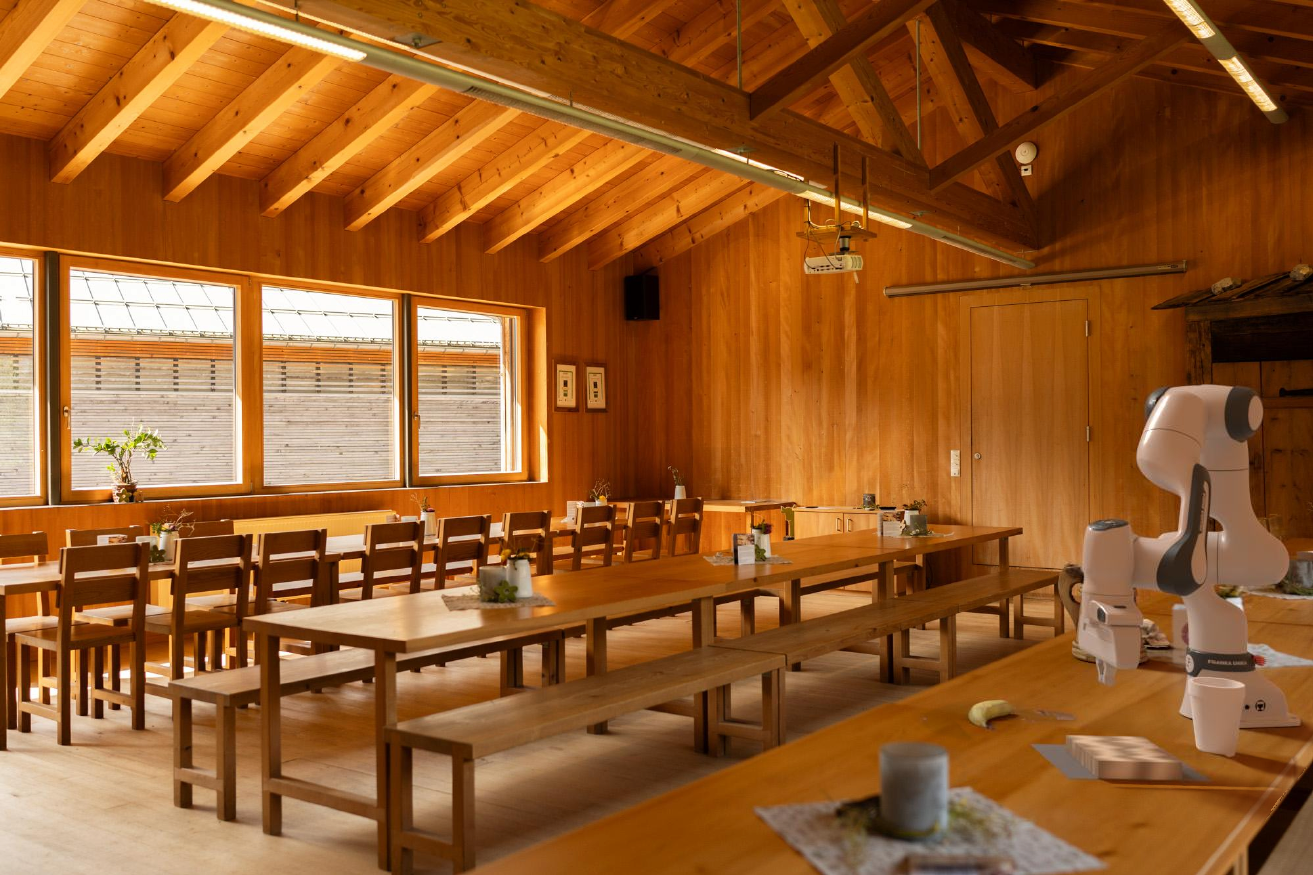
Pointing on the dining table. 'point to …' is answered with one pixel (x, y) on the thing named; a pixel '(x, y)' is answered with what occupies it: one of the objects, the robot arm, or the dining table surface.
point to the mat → (1078, 771)
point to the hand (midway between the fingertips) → (1106, 684)
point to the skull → (1153, 634)
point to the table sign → (1123, 757)
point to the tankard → (1065, 585)
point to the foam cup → (1216, 713)
